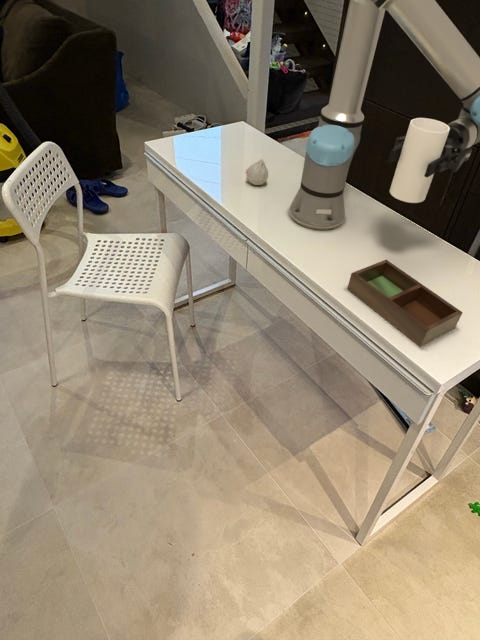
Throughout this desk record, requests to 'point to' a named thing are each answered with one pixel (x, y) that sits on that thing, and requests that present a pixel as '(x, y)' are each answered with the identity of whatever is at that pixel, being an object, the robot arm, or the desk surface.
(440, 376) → the desk surface
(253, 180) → the garlic bulb
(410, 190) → the cup
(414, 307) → the holder
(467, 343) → the desk surface
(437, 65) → the robot arm
